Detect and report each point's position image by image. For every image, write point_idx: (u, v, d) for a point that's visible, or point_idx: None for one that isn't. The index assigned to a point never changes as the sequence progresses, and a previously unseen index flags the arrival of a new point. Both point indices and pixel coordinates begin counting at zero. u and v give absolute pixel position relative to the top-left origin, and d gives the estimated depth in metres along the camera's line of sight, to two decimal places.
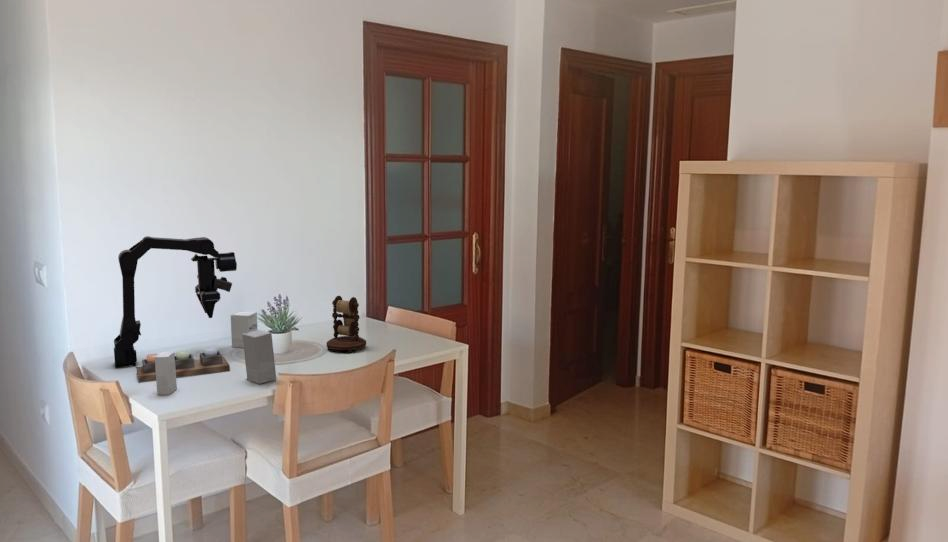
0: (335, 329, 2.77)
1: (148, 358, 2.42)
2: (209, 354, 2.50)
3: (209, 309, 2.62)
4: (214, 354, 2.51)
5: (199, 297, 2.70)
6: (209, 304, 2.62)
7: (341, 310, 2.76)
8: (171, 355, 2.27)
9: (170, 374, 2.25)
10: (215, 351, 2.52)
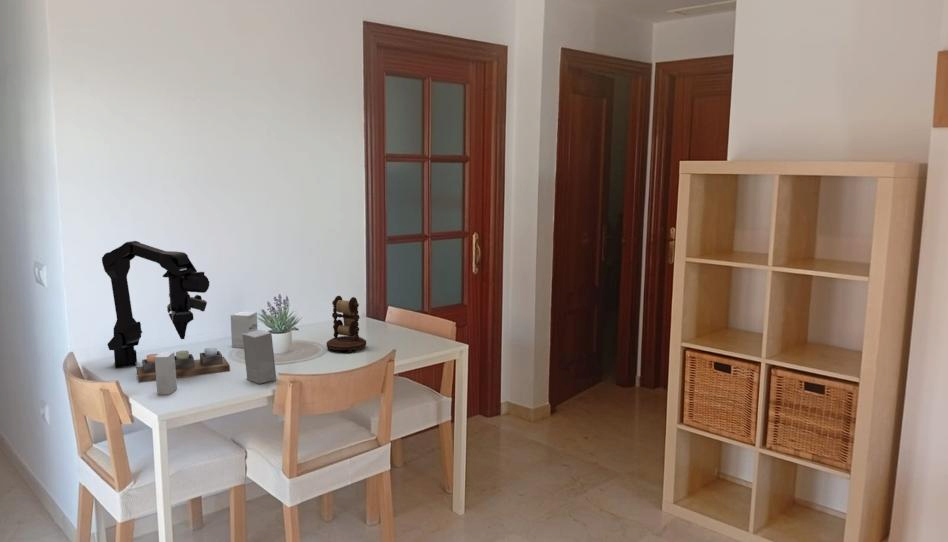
0: (335, 329, 2.77)
1: (148, 358, 2.42)
2: (209, 354, 2.50)
3: (181, 330, 2.43)
4: (214, 354, 2.51)
5: (172, 318, 2.49)
6: (181, 324, 2.42)
7: (341, 310, 2.76)
8: (171, 355, 2.27)
9: (170, 374, 2.25)
10: (215, 351, 2.52)
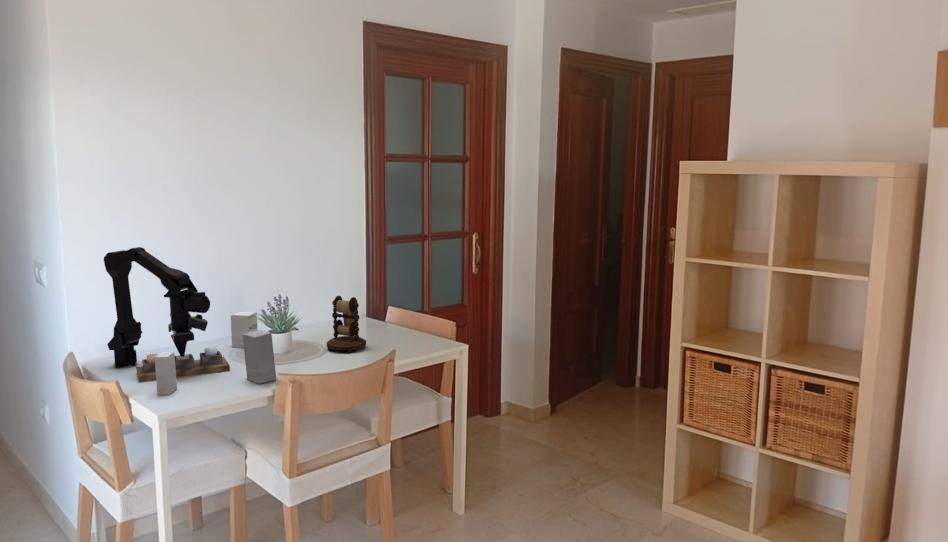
0: (335, 329, 2.77)
1: (148, 358, 2.42)
2: (209, 354, 2.50)
3: (181, 347, 2.46)
4: (214, 354, 2.51)
5: None
6: (181, 342, 2.46)
7: (341, 310, 2.76)
8: (171, 355, 2.27)
9: (170, 374, 2.25)
10: (215, 351, 2.52)
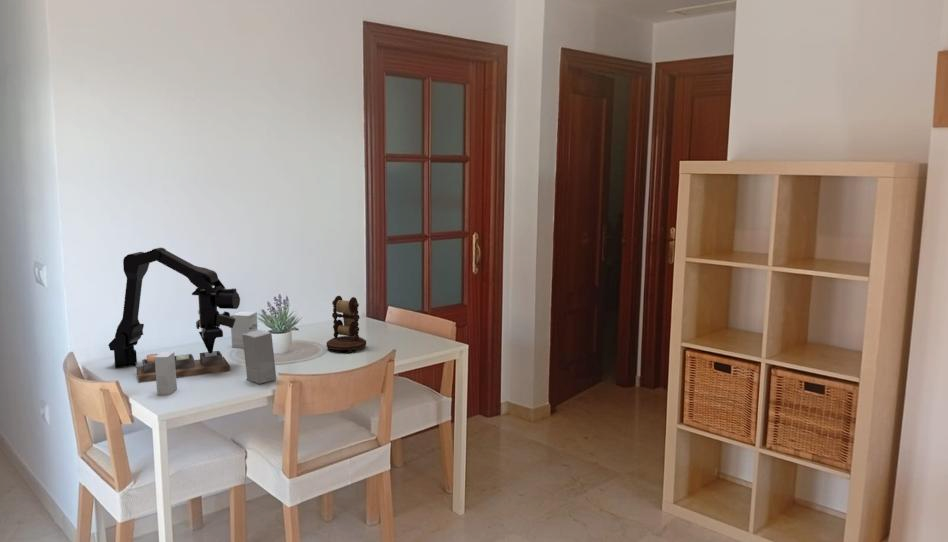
0: (335, 329, 2.77)
1: (148, 358, 2.42)
2: None
3: (209, 344, 2.50)
4: None
5: (202, 336, 2.51)
6: (209, 339, 2.50)
7: (341, 310, 2.76)
8: (171, 355, 2.27)
9: (170, 374, 2.25)
10: (215, 355, 2.52)
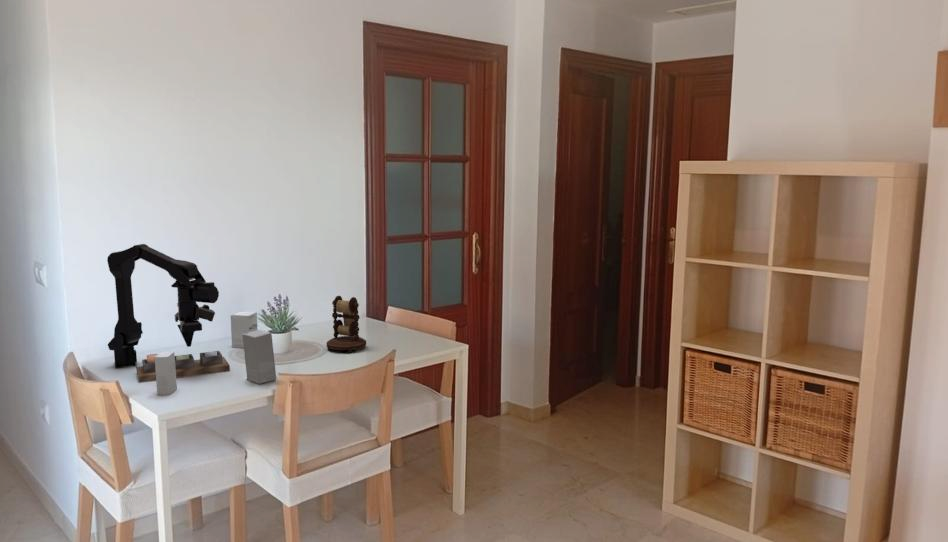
0: (335, 329, 2.77)
1: (148, 358, 2.42)
2: None
3: (188, 337, 2.47)
4: None
5: None
6: (188, 332, 2.47)
7: (341, 310, 2.76)
8: (171, 355, 2.27)
9: (170, 374, 2.25)
10: (215, 355, 2.52)
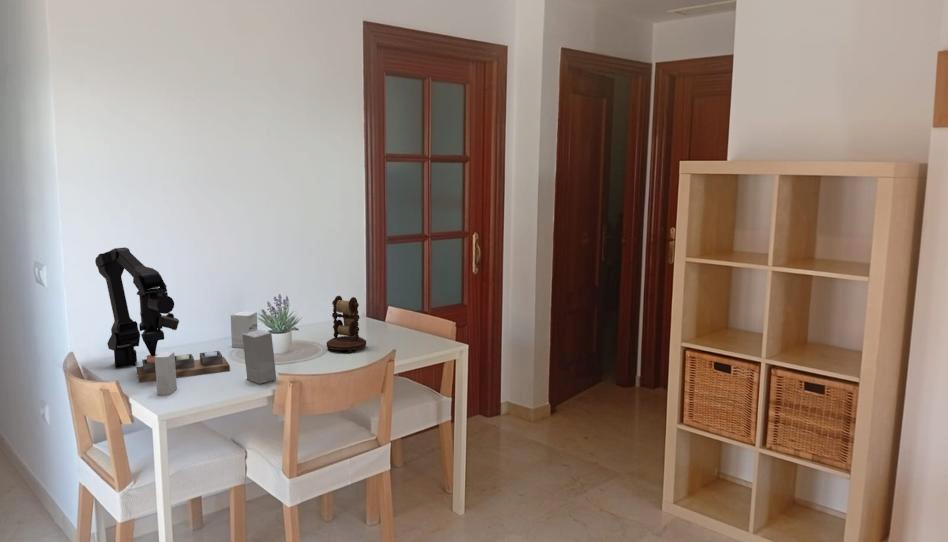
0: (335, 329, 2.77)
1: (148, 358, 2.42)
2: None
3: (151, 347, 2.42)
4: None
5: None
6: (151, 341, 2.42)
7: (341, 310, 2.76)
8: (171, 355, 2.27)
9: (170, 374, 2.25)
10: (215, 355, 2.52)
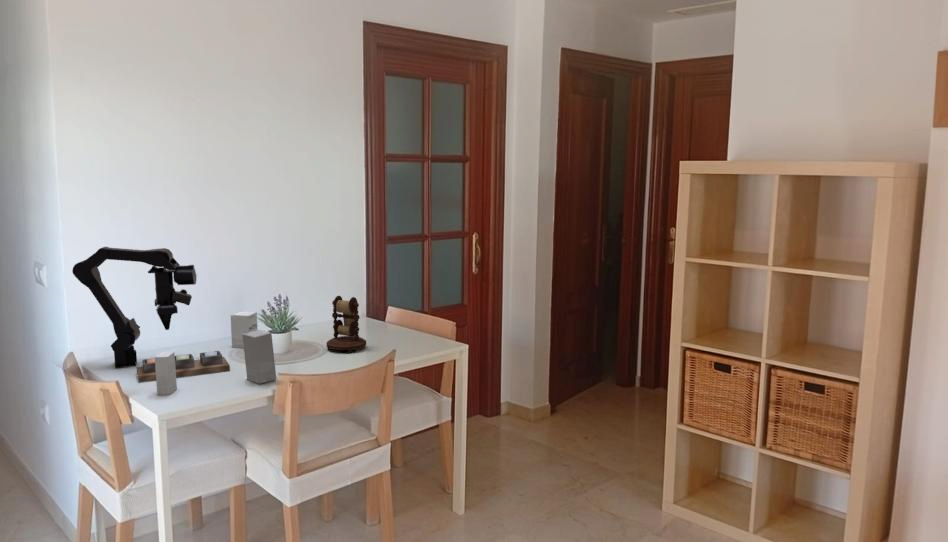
0: (335, 329, 2.77)
1: (148, 362, 2.42)
2: None
3: (165, 321, 2.56)
4: None
5: None
6: (165, 316, 2.56)
7: (341, 310, 2.76)
8: (171, 355, 2.27)
9: (170, 374, 2.25)
10: (215, 355, 2.52)
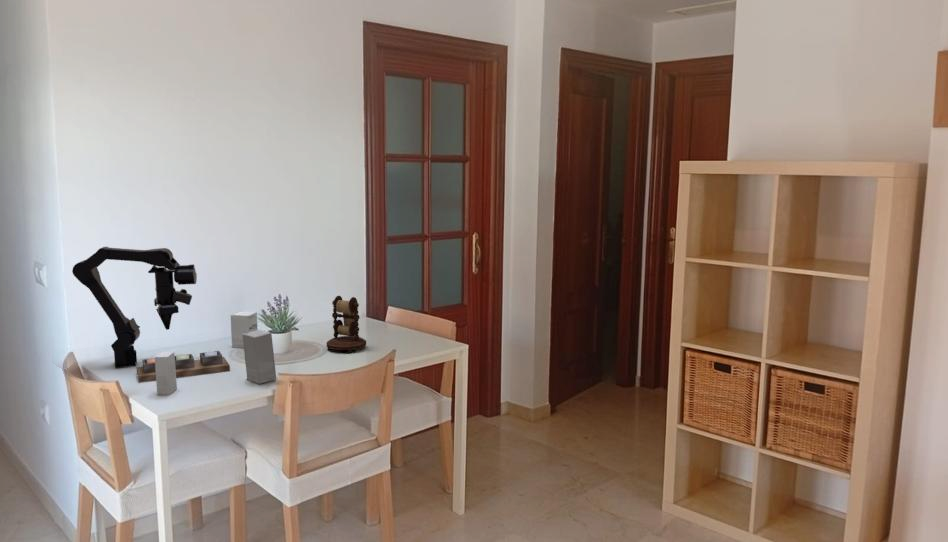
0: (335, 329, 2.77)
1: (148, 362, 2.42)
2: None
3: (166, 320, 2.56)
4: None
5: None
6: (166, 315, 2.56)
7: (341, 310, 2.76)
8: (171, 355, 2.27)
9: (170, 374, 2.25)
10: (215, 355, 2.52)
